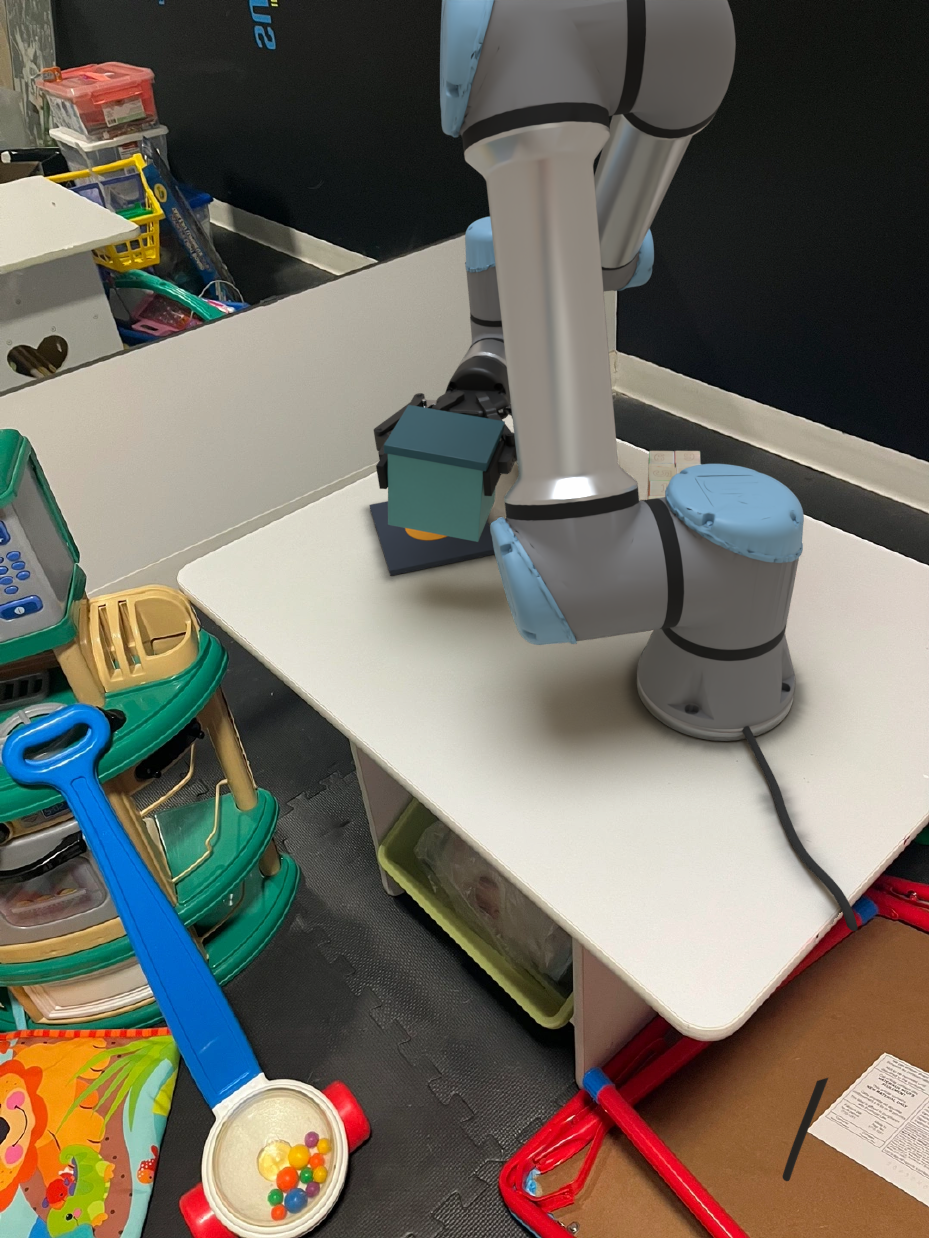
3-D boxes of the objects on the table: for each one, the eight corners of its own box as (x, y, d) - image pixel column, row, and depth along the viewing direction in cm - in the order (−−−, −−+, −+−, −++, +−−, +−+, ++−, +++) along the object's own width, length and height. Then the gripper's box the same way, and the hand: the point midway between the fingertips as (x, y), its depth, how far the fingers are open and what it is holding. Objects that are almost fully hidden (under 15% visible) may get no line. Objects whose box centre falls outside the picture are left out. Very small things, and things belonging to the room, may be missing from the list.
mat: (501, 553, 113) (500, 547, 113) (390, 576, 112) (389, 570, 111) (470, 489, 126) (469, 484, 125) (370, 509, 124) (369, 504, 123)
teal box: (407, 483, 104) (408, 404, 98) (497, 500, 103) (505, 421, 96) (384, 526, 98) (383, 444, 91) (480, 544, 96) (486, 463, 90)
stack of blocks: (645, 513, 117) (650, 427, 110) (696, 515, 116) (704, 427, 109) (640, 619, 101) (645, 526, 94) (698, 622, 100) (708, 528, 92)
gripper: (580, 417, 109) (546, 520, 92) (396, 409, 114) (334, 504, 98) (580, 357, 104) (544, 454, 88) (388, 352, 109) (321, 442, 93)
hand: (433, 481), depth 93 cm, fingers closed on teal box, 10 cm apart
